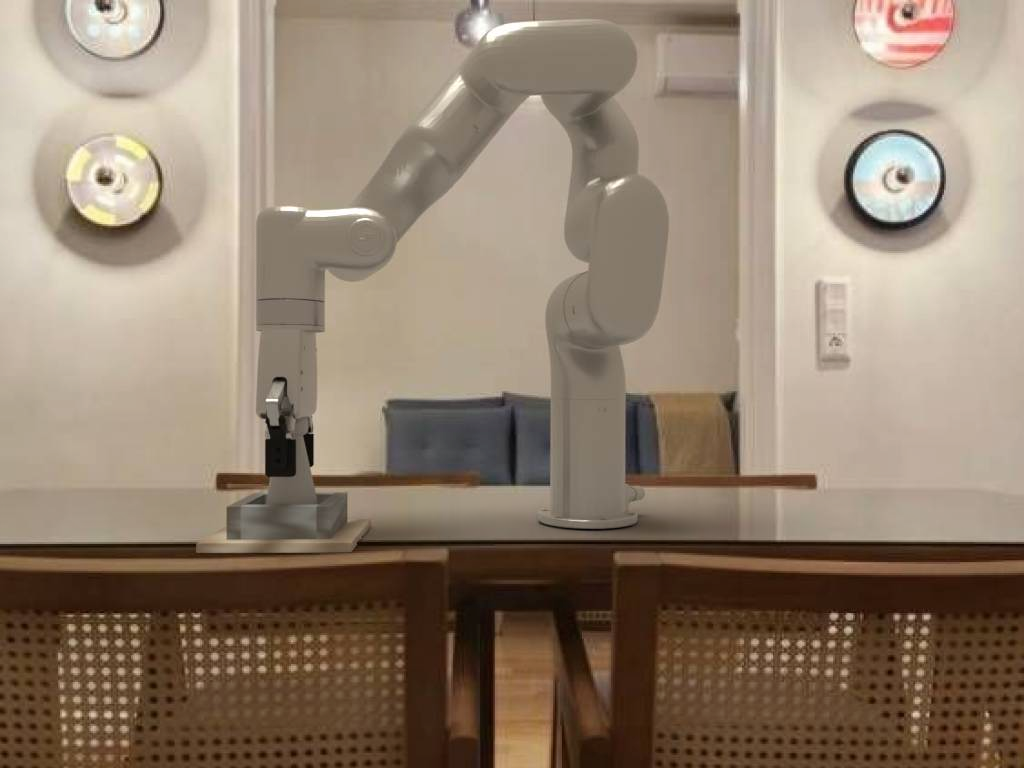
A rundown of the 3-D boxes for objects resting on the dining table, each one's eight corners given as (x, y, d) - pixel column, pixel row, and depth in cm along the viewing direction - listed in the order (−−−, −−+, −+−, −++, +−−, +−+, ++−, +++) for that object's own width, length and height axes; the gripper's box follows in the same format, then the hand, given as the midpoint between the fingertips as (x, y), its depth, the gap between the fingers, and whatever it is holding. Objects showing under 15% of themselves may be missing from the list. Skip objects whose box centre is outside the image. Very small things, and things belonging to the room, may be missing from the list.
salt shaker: (326, 524, 97) (322, 412, 97) (308, 533, 92) (304, 414, 92) (277, 525, 98) (273, 414, 98) (257, 534, 92) (253, 416, 92)
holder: (370, 526, 103) (370, 490, 102) (351, 552, 88) (351, 509, 87) (238, 527, 102) (238, 490, 102) (196, 552, 87) (196, 509, 87)
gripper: (276, 323, 103) (276, 464, 103) (234, 312, 86) (234, 481, 86) (337, 323, 103) (337, 463, 104) (308, 312, 86) (307, 481, 86)
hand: (290, 471), depth 95 cm, fingers open, 8 cm apart
